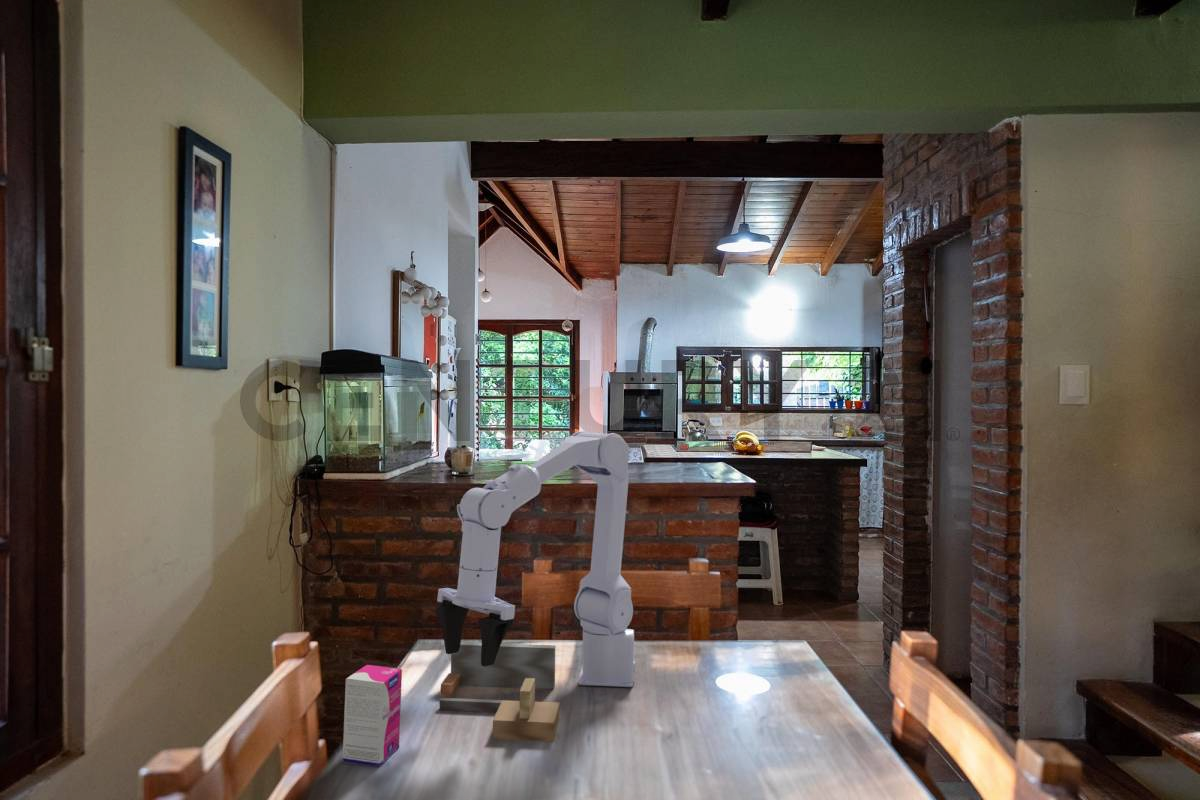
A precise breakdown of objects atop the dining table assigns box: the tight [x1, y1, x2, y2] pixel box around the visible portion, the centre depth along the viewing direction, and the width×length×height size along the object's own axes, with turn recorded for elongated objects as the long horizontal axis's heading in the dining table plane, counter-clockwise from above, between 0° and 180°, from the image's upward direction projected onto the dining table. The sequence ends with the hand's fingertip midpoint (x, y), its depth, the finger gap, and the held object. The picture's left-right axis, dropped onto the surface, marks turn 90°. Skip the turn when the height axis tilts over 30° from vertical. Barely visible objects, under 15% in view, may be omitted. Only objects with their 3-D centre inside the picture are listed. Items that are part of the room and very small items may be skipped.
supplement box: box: [341, 664, 403, 768], centre depth 100 cm, size 6×6×12 cm
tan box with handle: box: [492, 678, 561, 742], centre depth 109 cm, size 9×7×7 cm
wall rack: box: [439, 641, 556, 713], centre depth 120 cm, size 18×12×7 cm, turn 86°
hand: (469, 658), depth 109 cm, fingers open, 7 cm apart
